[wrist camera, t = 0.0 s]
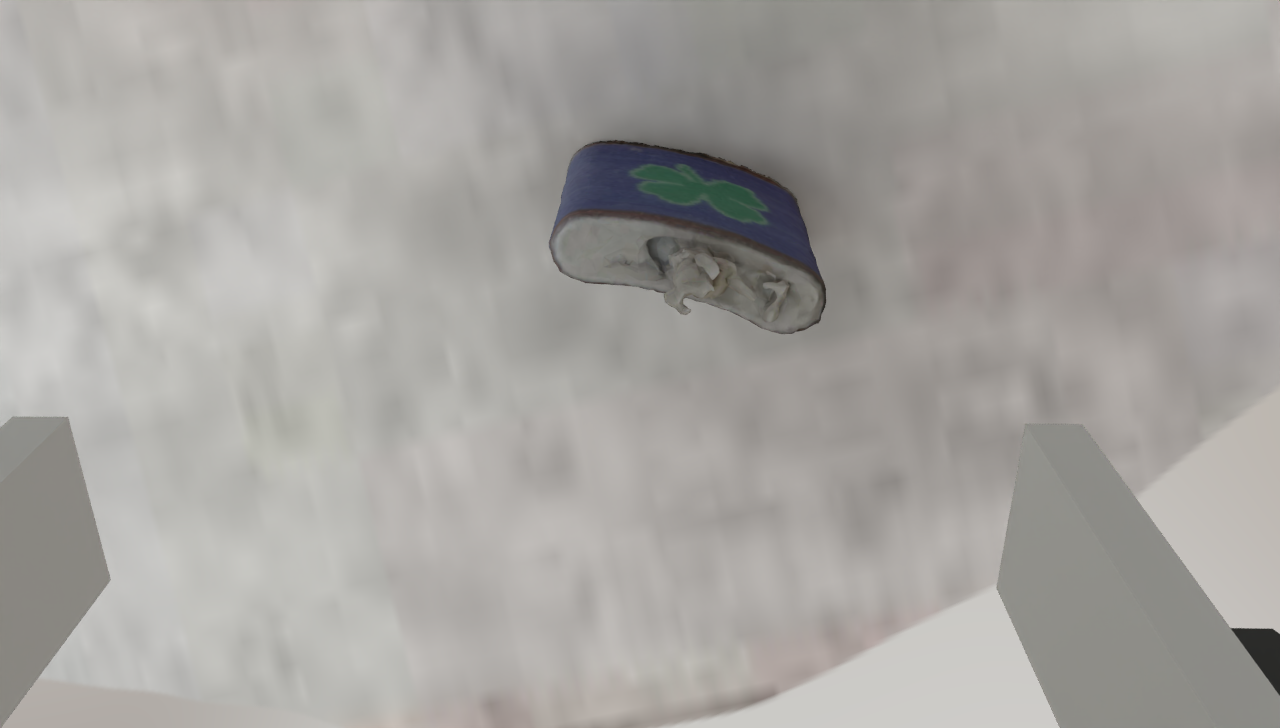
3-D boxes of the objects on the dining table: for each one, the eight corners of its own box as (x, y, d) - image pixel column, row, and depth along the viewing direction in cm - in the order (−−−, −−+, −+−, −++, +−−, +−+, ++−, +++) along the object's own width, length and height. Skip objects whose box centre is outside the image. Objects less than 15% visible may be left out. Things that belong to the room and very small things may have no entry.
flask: (562, 192, 42) (535, 296, 32) (580, 120, 41) (557, 205, 31) (788, 251, 43) (827, 369, 33) (812, 182, 42) (859, 283, 32)
